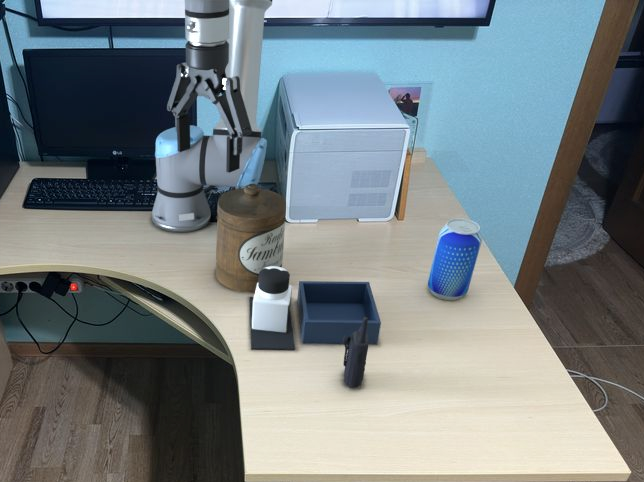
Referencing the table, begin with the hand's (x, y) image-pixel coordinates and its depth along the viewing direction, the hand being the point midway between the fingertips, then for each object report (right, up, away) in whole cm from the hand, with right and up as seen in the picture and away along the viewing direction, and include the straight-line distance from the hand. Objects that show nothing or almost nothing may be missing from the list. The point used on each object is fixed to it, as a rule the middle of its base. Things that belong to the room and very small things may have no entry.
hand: (207, 159), depth 128 cm
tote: (+27, -31, +10) cm, 42 cm away
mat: (+13, -31, +10) cm, 35 cm away
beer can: (+53, -24, +18) cm, 61 cm away
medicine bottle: (+13, -31, +10) cm, 35 cm away
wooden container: (+10, -19, +25) cm, 33 cm away
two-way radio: (+26, -42, -4) cm, 50 cm away
